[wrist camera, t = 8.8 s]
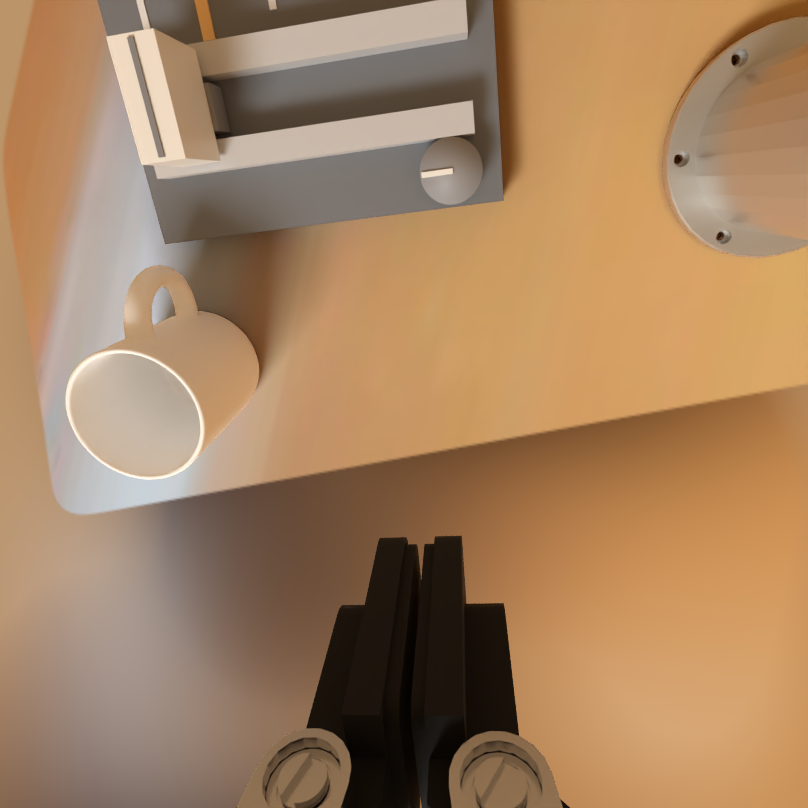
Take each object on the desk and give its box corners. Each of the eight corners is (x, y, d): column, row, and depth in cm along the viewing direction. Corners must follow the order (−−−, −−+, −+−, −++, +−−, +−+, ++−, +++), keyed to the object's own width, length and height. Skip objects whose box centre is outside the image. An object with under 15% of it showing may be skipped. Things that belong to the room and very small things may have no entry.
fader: (214, 55, 31) (158, 26, 25) (237, 161, 33) (190, 157, 27) (165, 64, 32) (98, 37, 26) (191, 168, 34) (135, 165, 28)
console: (485, -72, 30) (490, -106, 26) (500, 199, 35) (506, 201, 31) (114, -2, 32) (74, -23, 29) (179, 241, 38) (151, 247, 34)
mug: (137, 253, 38) (32, 277, 29) (252, 256, 38) (184, 281, 28) (164, 410, 43) (81, 476, 33) (267, 415, 42) (212, 483, 33)
